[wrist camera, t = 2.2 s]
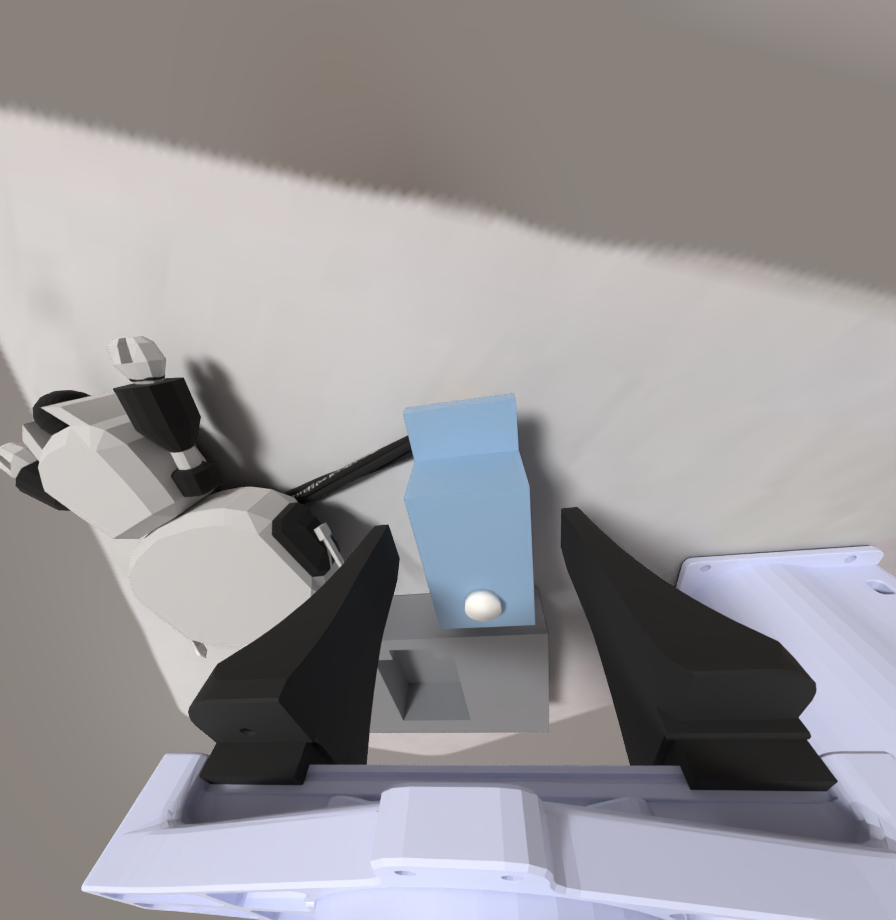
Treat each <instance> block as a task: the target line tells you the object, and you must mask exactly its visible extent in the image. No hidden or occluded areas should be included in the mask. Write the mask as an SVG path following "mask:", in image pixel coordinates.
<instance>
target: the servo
mask: <svg viewBox="0 0 896 920" xmlns="http://www.w3.org/2000/svg"><path fill="white" fill-rule="evenodd" d="M403 416H404V420H405V424H406V428H407V432H408V436H409V441H410V445H411V449H412V453H413V457H414V461H415V462H414V465H413V469H412V472H411V475H410V479H409V482H408V485H407V489H406V492H405V496H404V501H405V505H406V509H407V512H408V516H409V519H410V523H411V526H412V530H413V533H414V537H415V541H416V544H417V548H418V551H419V555H420V558H421V562H422V565H423V569H424V573H425V576H426V580H427V583H428V587H429V590H430V594H431V598H432V601H433V605H434V608H435V612H436V615H437V619H438V622H439V626H440V629H454V628H477V627H500V626H523V625H535V608H534V584H533V559H532V535H531V511H530V487H529V483H528V479H527V476H526V473H525V469H524V466H523V463H522V459H521V456H520V453H519V447H518V430H517V412H516V398H515V396H514V393H511V394H504V395H496V396H489V397H482V398H474V399H467V400H459V401H452V402H445V403H437V404H430V405H423V406H415V407H408V408H405V410H404V413H403Z"/></svg>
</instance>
